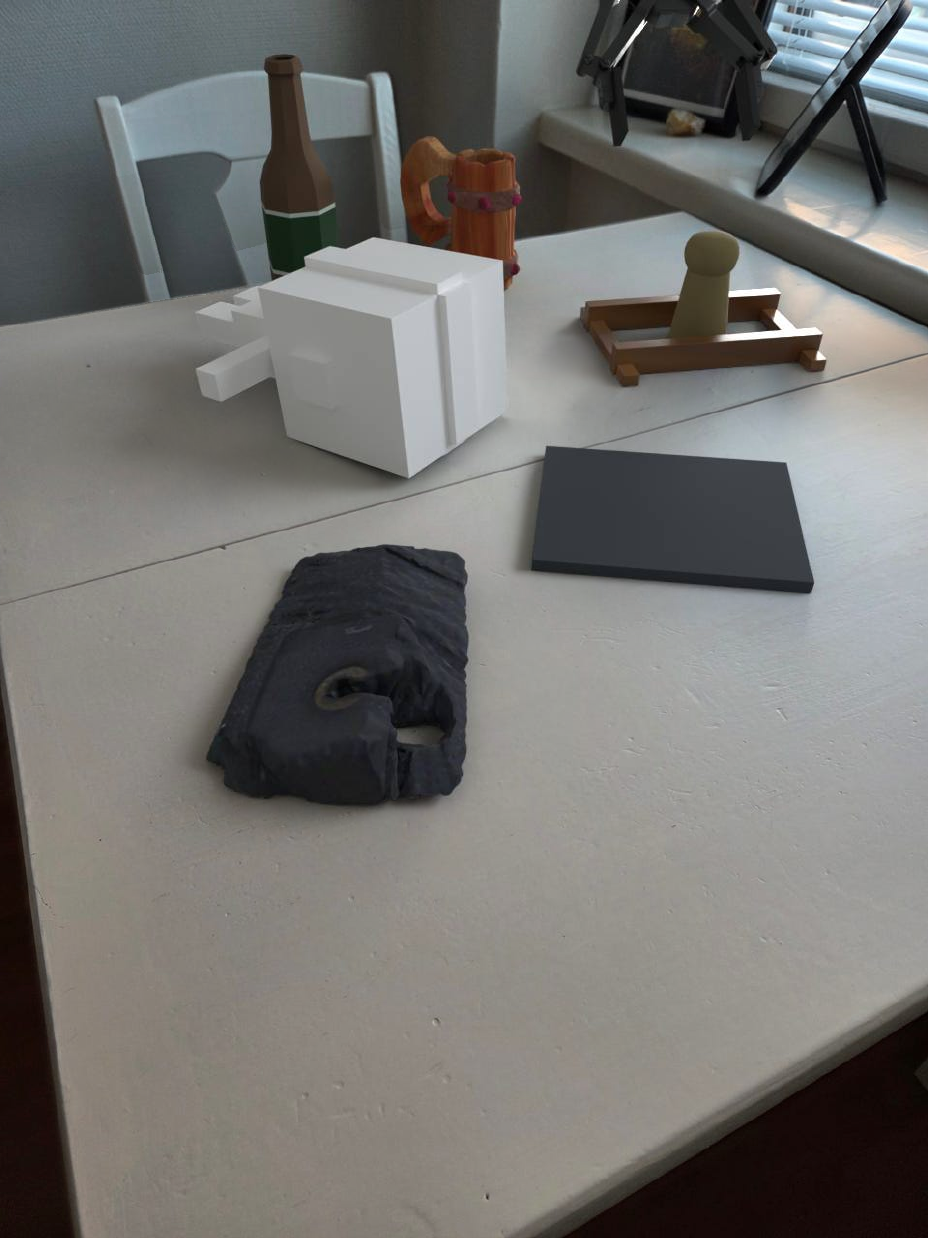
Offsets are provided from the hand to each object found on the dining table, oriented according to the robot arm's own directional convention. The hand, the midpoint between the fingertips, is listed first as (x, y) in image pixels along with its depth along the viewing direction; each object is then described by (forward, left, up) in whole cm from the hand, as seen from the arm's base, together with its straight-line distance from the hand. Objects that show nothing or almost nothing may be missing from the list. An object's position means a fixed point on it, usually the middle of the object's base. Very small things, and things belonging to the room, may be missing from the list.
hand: (686, 136), depth 94 cm
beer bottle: (+39, +6, -17) cm, 43 cm away
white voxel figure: (+30, +28, -17) cm, 44 cm away
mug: (+23, -2, -17) cm, 29 cm away
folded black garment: (+21, +62, -17) cm, 68 cm away
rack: (-3, +10, -17) cm, 20 cm away
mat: (+1, +42, -17) cm, 45 cm away
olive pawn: (-3, +10, -17) cm, 20 cm away
